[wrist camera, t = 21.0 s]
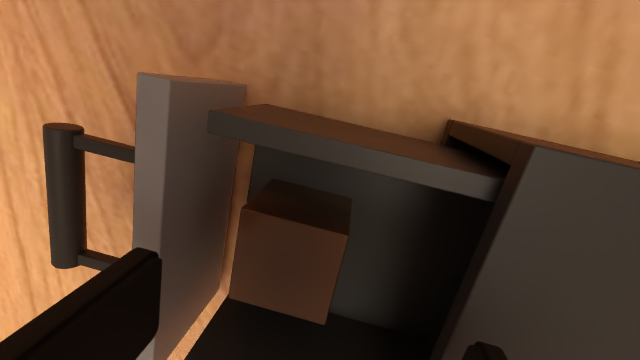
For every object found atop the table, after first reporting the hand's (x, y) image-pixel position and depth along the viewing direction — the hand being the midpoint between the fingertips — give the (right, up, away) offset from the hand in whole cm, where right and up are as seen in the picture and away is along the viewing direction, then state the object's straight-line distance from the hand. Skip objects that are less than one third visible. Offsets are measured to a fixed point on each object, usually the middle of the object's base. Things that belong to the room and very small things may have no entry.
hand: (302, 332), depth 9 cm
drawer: (-1, +3, +9) cm, 10 cm away
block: (0, +2, +8) cm, 8 cm away
